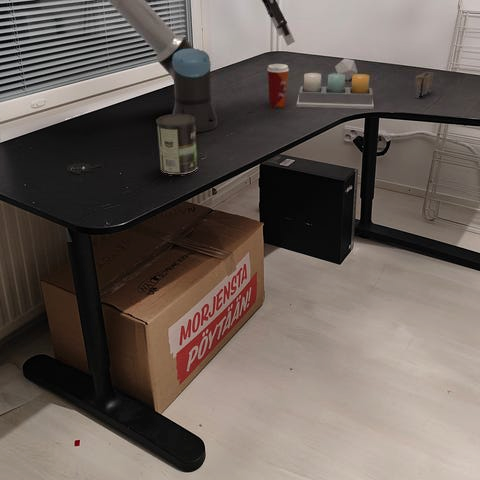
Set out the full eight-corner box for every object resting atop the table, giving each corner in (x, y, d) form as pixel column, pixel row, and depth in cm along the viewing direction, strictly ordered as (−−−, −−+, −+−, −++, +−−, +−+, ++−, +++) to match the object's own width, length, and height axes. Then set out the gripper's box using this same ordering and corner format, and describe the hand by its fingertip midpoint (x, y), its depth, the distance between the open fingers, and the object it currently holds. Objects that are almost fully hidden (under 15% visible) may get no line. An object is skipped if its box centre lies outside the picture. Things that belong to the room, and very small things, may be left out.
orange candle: (351, 94, 215) (352, 78, 212) (350, 90, 220) (352, 73, 217) (368, 95, 214) (369, 78, 211) (367, 90, 219) (369, 74, 216)
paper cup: (286, 108, 214) (287, 68, 207) (265, 107, 215) (265, 68, 208) (289, 102, 221) (290, 63, 214) (268, 101, 222) (268, 62, 215)
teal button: (327, 94, 216) (328, 77, 213) (327, 89, 221) (328, 73, 218) (344, 94, 215) (345, 77, 212) (344, 90, 220) (345, 73, 217)
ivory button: (303, 93, 217) (303, 76, 214) (304, 89, 222) (304, 72, 219) (320, 94, 216) (320, 77, 213) (320, 89, 221) (321, 73, 218)
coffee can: (197, 161, 172) (195, 112, 165) (198, 175, 163) (195, 124, 156) (160, 162, 171) (157, 114, 164) (159, 176, 162) (155, 126, 155)
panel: (296, 106, 216) (297, 94, 214) (298, 96, 227) (299, 84, 225) (373, 109, 212) (374, 96, 210) (372, 98, 224) (373, 86, 221)
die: (360, 81, 248) (357, 58, 250) (354, 74, 241) (350, 51, 242) (341, 86, 252) (338, 64, 253) (334, 80, 244) (331, 58, 246)
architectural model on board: (420, 100, 223) (423, 73, 218) (412, 98, 224) (415, 72, 220) (431, 93, 231) (435, 67, 226) (424, 92, 232) (427, 66, 227)
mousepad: (102, 165, 171) (102, 162, 171) (97, 175, 165) (97, 173, 164) (69, 165, 171) (69, 163, 171) (63, 176, 164) (63, 174, 164)
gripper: (277, -21, 184) (305, 41, 195) (262, -32, 205) (288, 24, 216) (255, -8, 185) (284, 53, 196) (243, -21, 206) (270, 35, 217)
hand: (286, 38), depth 206 cm, fingers open, 13 cm apart
